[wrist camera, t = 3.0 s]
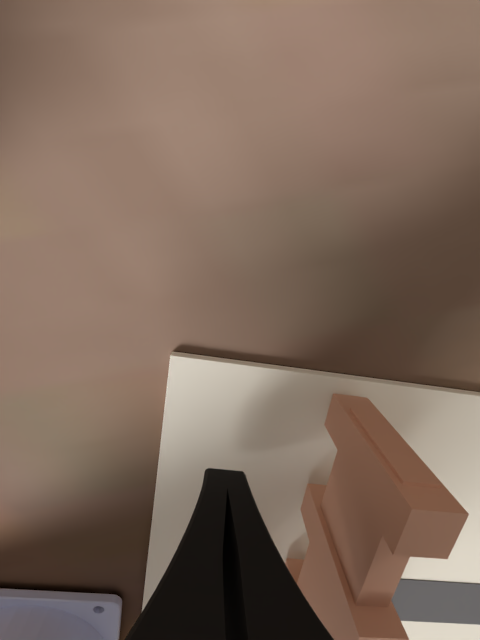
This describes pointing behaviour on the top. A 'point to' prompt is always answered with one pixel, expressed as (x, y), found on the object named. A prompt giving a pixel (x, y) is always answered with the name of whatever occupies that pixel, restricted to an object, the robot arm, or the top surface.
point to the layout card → (316, 467)
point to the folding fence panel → (370, 524)
